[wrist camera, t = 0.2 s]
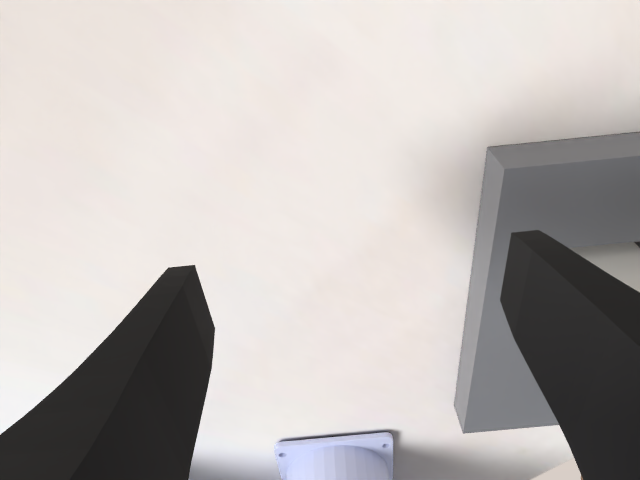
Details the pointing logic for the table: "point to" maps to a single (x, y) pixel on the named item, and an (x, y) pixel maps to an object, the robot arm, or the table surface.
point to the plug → (615, 261)
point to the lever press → (559, 223)
